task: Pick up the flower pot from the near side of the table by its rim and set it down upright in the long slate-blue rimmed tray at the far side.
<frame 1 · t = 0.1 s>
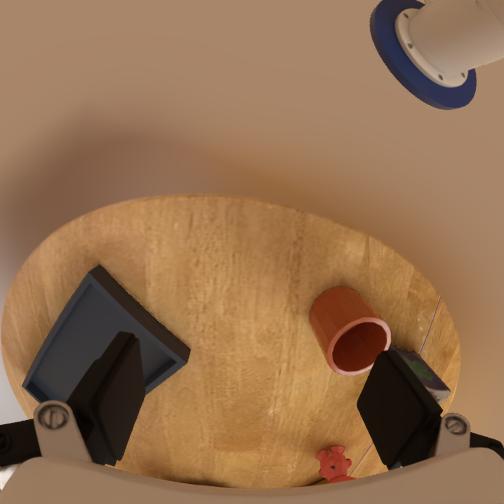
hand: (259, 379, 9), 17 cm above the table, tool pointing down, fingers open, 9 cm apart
flower pot: (336, 313, 28), on the table
tray: (87, 370, 29), on the table
cat figurine: (329, 450, 35), on the table
flask: (395, 353, 30), on the table
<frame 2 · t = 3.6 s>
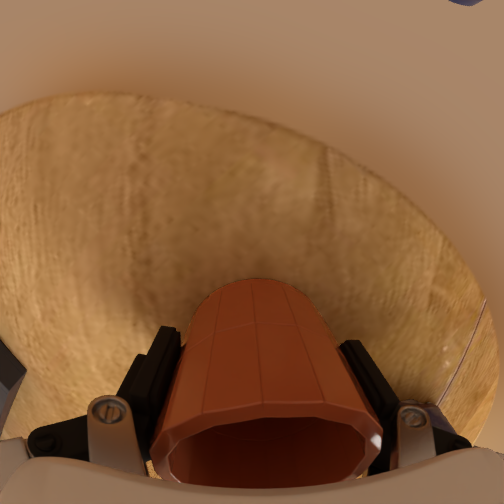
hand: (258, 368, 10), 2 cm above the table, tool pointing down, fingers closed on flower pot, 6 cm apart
flower pot: (256, 341, 12), on the table, touching gripper
flask: (395, 410, 14), on the table
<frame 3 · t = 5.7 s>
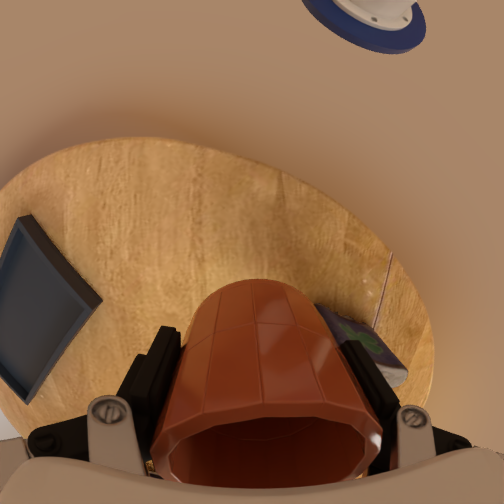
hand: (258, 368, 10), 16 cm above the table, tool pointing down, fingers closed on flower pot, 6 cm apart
flower pot: (256, 341, 12), point 14 cm above the table, touching gripper
tray: (24, 326, 27), on the table
flask: (338, 323, 28), on the table
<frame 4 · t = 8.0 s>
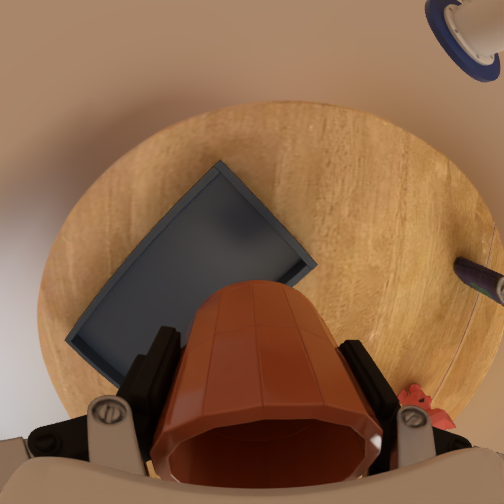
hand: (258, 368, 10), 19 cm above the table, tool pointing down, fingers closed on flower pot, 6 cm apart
flower pot: (256, 342, 12), point 17 cm above the table, touching gripper
tray: (171, 302, 30), on the table
cat figurine: (407, 390, 36), on the table
flask: (467, 273, 31), on the table
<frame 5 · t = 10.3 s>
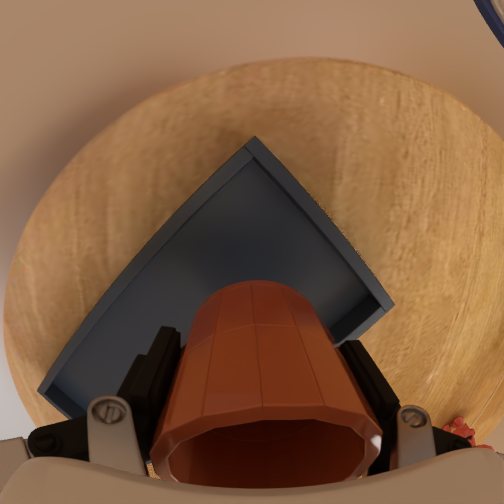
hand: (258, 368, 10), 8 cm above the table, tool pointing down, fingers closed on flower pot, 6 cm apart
flower pot: (256, 342, 12), point 6 cm above the table, touching gripper
tray: (173, 356, 19), on the table
cat figurine: (450, 424, 25), on the table
when the fingers open (3 cm above the table, at t = 12.2 s): flower pot stays where it is, resting on tray.
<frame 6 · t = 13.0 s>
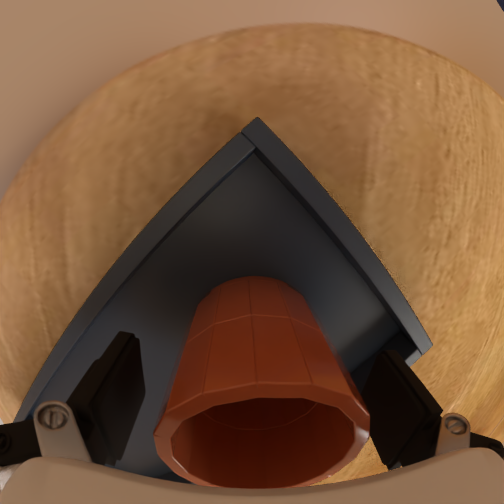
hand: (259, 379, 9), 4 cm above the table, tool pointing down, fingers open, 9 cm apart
flower pot: (253, 335, 13), point 1 cm above the table, touching tray
tray: (156, 401, 15), on the table
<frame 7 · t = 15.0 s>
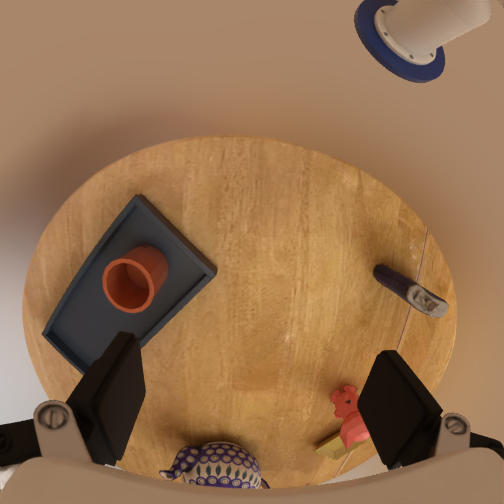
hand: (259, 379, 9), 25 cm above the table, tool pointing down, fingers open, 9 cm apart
teapot: (222, 452, 44), on the table
yellow square dish: (338, 439, 45), on the table
flower pot: (146, 267, 34), point 1 cm above the table, touching tray
tray: (115, 304, 35), on the table
cat figurine: (342, 391, 41), on the table
flask: (394, 280, 37), on the table
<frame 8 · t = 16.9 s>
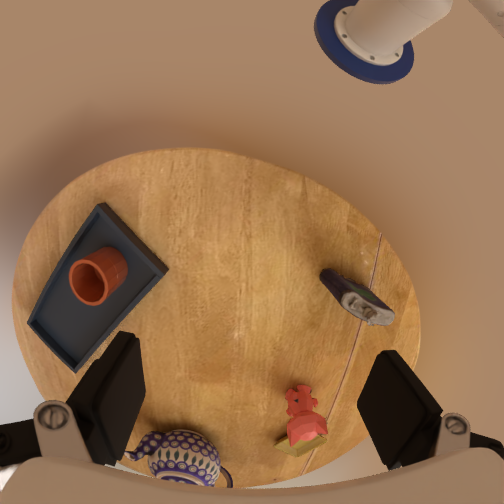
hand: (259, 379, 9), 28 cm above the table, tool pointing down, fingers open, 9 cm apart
teapot: (187, 440, 48), on the table
yellow square dish: (299, 436, 48), on the table
flower pot: (109, 266, 37), point 1 cm above the table, touching tray
tray: (86, 298, 38), on the table
cat figurine: (296, 390, 44), on the table
flask: (344, 284, 39), on the table
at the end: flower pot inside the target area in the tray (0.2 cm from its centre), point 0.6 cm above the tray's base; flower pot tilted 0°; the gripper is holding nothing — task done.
